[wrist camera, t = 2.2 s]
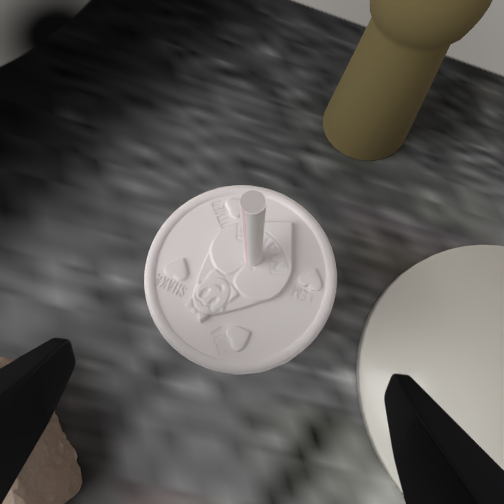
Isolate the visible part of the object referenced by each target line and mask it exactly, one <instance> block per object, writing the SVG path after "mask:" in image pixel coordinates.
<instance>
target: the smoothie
mask: <svg viewBox="0 0 504 504" xmlns="http://www.w3.org/2000/svg"><path fill="white" fill-rule="evenodd" d="M336 287H337V270H336V262H335V258H334V254H333V250H332V247H331V245H330V242H329V240H328V238H327V236H326V234H325V232H324V231H323V229H322V228H321V226H320V225H319V223H318V222H317V221H316V220H315V218H314V217H313V216H312V215H311V214H310V213H309V212H308V211H307V210H306V209H305V208H303V207H302V206H301V205H300V204H298V203H297V202H295V201H294V200H292V199H290V198H289V197H287V196H285V195H283V194H281V193H278V192H276V191H273V190H270V189H266V188H262V187H256V186H245V185H239V186H227V187H222V188H217V189H214V190H210V191H208V192H205V193H202V194H200V195H198V196H196V197H194V198H192V199H191V200H189V201H188V202H186V203H185V204H183V205H182V206H181V207H179V208H178V209H177V210H176V211H175V212H174V213H173V214H172V215H171V216H170V217H169V218H168V219H167V220H166V221H165V223H164V224H163V225H162V227H161V228H160V230H159V231H158V233H157V234H156V236H155V238H154V240H153V242H152V245H151V247H150V250H149V253H148V256H147V260H146V266H145V275H144V288H145V296H146V301H147V305H148V308H149V311H150V314H151V316H152V318H153V321H154V323H155V325H156V326H157V328H158V330H159V331H160V333H161V334H162V335H163V337H164V338H165V339H166V341H167V342H168V343H169V344H170V345H171V346H172V347H173V348H174V349H175V350H177V351H178V352H179V353H180V354H181V355H183V356H184V357H186V358H187V359H189V360H191V361H192V362H194V363H196V364H198V365H200V366H203V367H205V368H208V369H210V370H212V371H217V372H223V373H229V374H235V375H242V374H251V373H259V372H265V371H267V370H270V369H272V368H275V367H277V366H280V365H282V364H284V363H287V362H289V361H290V360H291V359H292V358H294V357H295V356H297V355H298V354H299V353H301V352H302V351H303V350H304V349H305V348H306V347H308V346H309V345H310V344H311V343H312V341H313V340H314V339H315V338H316V337H317V336H318V334H319V333H320V331H321V330H322V328H323V327H324V325H325V323H326V321H327V319H328V317H329V315H330V312H331V310H332V307H333V304H334V300H335V295H336Z"/></svg>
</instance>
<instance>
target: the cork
mask: <svg viewBox="0 0 504 504" xmlns="http://www.w3.org/2000/svg"><path fill="white" fill-rule="evenodd" d="M491 2H492V0H370V13H371V16H372V18H371V20H370V22H369V24H368V26H367V28H366V30H365V32H364V34H363V36H362V38H361V40H360V42H359V44H358V46H357V48H356V50H355V52H354V54H353V56H352V58H351V60H350V62H349V64H348V66H347V68H346V70H345V72H344V74H343V76H342V78H341V80H340V82H339V84H338V86H337V88H336V90H335V92H334V94H333V96H332V98H331V100H330V102H329V104H328V106H327V108H326V110H325V113H324V115H323V128H324V131H325V134H326V137H327V138H328V140H329V141H330V142H331V144H332V145H333V146H334V147H335V148H336V149H337V150H339V151H340V152H341V153H343V154H344V155H346V156H349V157H352V158H354V159H357V160H366V161H374V160H379V159H384V158H386V157H388V156H390V155H392V154H394V153H396V151H397V150H398V149H399V148H400V147H401V146H402V145H403V143H404V141H405V139H406V137H407V135H408V133H409V131H410V129H411V127H412V124H413V122H414V120H415V118H416V116H417V114H418V112H419V110H420V108H421V105H422V103H423V101H424V99H425V97H426V95H427V93H428V91H429V89H430V86H431V84H432V82H433V80H434V78H435V76H436V74H437V72H438V69H439V67H440V65H441V63H442V61H443V59H444V57H445V55H446V53H447V50H448V48H449V46H450V44H452V43H454V42H456V41H458V40H460V39H461V38H462V37H463V36H465V35H466V34H467V33H468V32H469V31H470V30H471V29H472V28H473V27H474V25H476V23H477V22H478V21H479V20H480V19H481V18H482V16H483V15H484V13H485V12H486V11H487V9H488V8H489V6H490V4H491Z"/></svg>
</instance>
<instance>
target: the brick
mask: <svg viewBox="0 0 504 504" xmlns="http://www.w3.org/2000/svg"><path fill="white" fill-rule="evenodd" d="M14 360H15V359H11V358H6V357H1V358H0V368H2V367H4V366H5V365H7V364H9V363H10V362H12V361H14ZM81 485H82V476H81V469H80V467H79V465H78V463H77V454H76V451H75V449H74V448H73V447H72V445H71V444H70V442H69V441H68V440H67V439H66V435H65V433H64V432H63V431H62V430H61V426H60V424H59V420H58V416H57V415H56V414H55V411H54V413H53V415H52V417H51V419H50V421H49V423H48V425H47V427H46V429H45V430H44V432H43V434H42V435H41V437H40V439H39V441H38V442H37V444H36V446H35V448H34V449H33V451H32V453H31V454H30V456H29V458H28V460H27V461H26V463H25V465H24V466H23V468H22V470H21V472H20V473H19V475H18V477H17V479H16V480H15V482H14V484H13V485H12V487H11V489H10V491H9V492H8V494H7V496H6V498H5V499H4V501H3V503H2V504H65V503H66V502H67V501H68V500H69V499H71V498H72V497H74V496H75V495H76V494H77V493H78V492H79V491H80V488H81Z"/></svg>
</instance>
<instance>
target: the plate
mask: <svg viewBox="0 0 504 504" xmlns="http://www.w3.org/2000/svg"><path fill="white" fill-rule="evenodd" d="M395 373H396V374H406V375H409V376H410V377H412V378H413V379H414V380H415V381H416V382H417V383H418V384H419V385H420V386H421V387H422V388H423V389H424V390H425V391H426V392H427V393H428V394H429V395H430V396H431V397H432V399H433V400H434V401H435V402H436V403H437V404H438V405H439V406H440V407H441V408H442V409H443V410H444V411H445V412H446V413H447V414H448V415H449V416H450V417H451V418H452V419H453V420H454V421H455V422H456V423H457V424H458V425H459V426H460V427H461V428H462V429H463V430H464V431H465V432H466V433H467V434H468V435H469V436H470V437H471V438H472V439H473V440H474V441H475V442H476V443H477V444H478V445H479V446H480V447H481V448H482V449H483V450H484V451H485V452H486V453H487V454H488V455H489V456H490V457H491V458H492V459H493V460H494V461H495V462H496V463H497V464H498V465H499V466H500V467H501V468H502V469H503V470H504V246H498V245H472V246H463V247H458V248H454V249H449V250H446V251H443V252H440V253H438V254H435V255H432V256H430V257H429V258H427V259H425V260H423V261H421V262H419V263H417V264H416V265H414V266H412V267H410V268H409V269H407V270H406V271H404V272H403V273H402V274H400V275H399V276H398V277H396V278H395V279H394V280H393V281H392V282H391V283H390V284H389V285H388V286H387V287H386V288H385V290H384V291H383V292H382V294H381V295H380V296H379V298H378V299H377V300H376V302H375V303H374V305H373V307H372V309H371V311H370V313H369V315H368V316H367V319H366V322H365V325H364V327H363V330H362V333H361V337H360V342H359V346H358V351H357V362H356V385H357V394H358V400H359V407H360V411H361V415H362V418H363V422H364V426H365V429H366V432H367V434H368V437H369V439H370V442H371V444H372V446H373V449H374V451H375V453H376V455H377V457H378V458H379V460H380V462H381V464H382V466H383V468H384V469H385V471H386V472H387V474H388V475H389V477H390V478H391V480H392V481H393V482H394V484H395V485H396V487H397V488H398V490H399V491H400V492H401V493H402V494H403V491H402V487H401V484H400V480H399V476H398V473H397V469H396V465H395V461H394V456H393V451H392V445H391V439H390V433H389V427H388V421H387V415H386V409H385V403H384V395H385V391H386V388H387V386H388V383H389V381H390V378H391V376H392V375H393V374H395Z"/></svg>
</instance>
